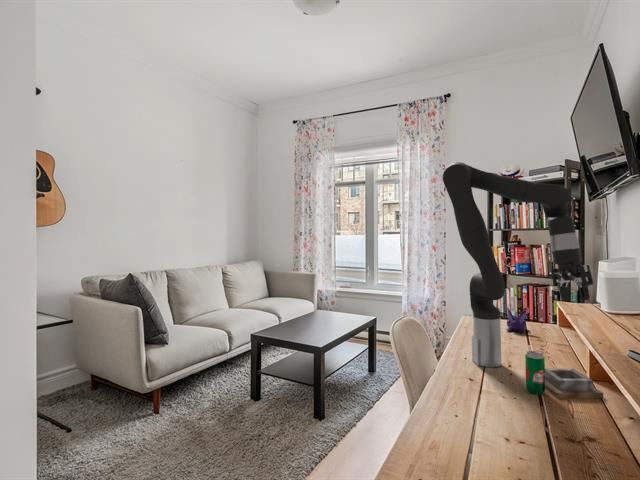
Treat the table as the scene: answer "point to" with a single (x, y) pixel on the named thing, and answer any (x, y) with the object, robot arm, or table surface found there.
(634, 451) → the table surface
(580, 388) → the grey hollow square frame
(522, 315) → the creature
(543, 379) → the soda can
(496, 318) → the robot arm
